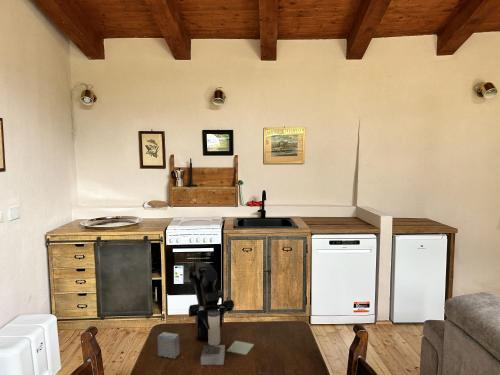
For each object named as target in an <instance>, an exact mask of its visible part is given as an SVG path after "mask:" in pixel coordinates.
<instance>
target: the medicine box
mask: <svg viewBox="0 0 500 375" xmlns="http://www.w3.org/2000/svg"><path fill="white" fill-rule="evenodd" d="M179 335H180V334H179V333H171V332H165V331H163V332H162V333H160V334H159V335H157V356H158V357H162V356H163V358H167V357H168V358H169V359H176V358H177V356H179V354H180V336H179Z"/></svg>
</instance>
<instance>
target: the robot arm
mask: <svg viewBox="0 0 500 375" xmlns="http://www.w3.org/2000/svg"><path fill="white" fill-rule="evenodd" d="M218 275H219V274H218V272H217V270H216V269H215V268H214V267H213V265H206V264H205V263H204V261H202V260H201V261H199V260H198V261H193V262H192V264H191V266H190V267H189V268H188V272H187V278H188V280H189V282H190V285H192V286H193V287H194V291H195V297H196V300H197V301H196V302H197V303H196V304H195V303H194V304H190V305H189V307H188V317H195V320H194V321H195V322H194V323H195V326H196V328H197V337H196V338H195V339H196V340H197V341H203V342H207V343H208V329H209V324H208V311H209V310H211V309H218V310H220V329H221V328H222V325H223V317H224V315H225V314H226V313H227V312H232V311H233V310H234V307H235V301H234V300H232V299H228V300H223V303H219V302H220V299H223V298H224V292H223V289H218V290H217V292H216V287H215V286H216V283H217V280H218V277H219V276H218Z"/></svg>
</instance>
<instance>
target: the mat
mask: <svg viewBox="0 0 500 375" xmlns="http://www.w3.org/2000/svg"><path fill="white" fill-rule="evenodd" d="M254 345H255V343H249V342H245V341H239V340H235V341H233V342H232V344H231V345H230V346H229V347H228V349H226V352H229V353H234V354H239V355H242V356H243V355H244V356H247V355H248V354H249V352H250V351H251V350H252V349H253V347H254Z"/></svg>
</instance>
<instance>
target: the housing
mask: <svg viewBox="0 0 500 375" xmlns="http://www.w3.org/2000/svg"><path fill="white" fill-rule="evenodd" d="M225 355H226V344H218V345H210V344H208V345H207V344H206V345H203V346H202V351H201V355H200V365H201V366H223V365H225V364H224V363H225V357H226V356H225Z"/></svg>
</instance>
